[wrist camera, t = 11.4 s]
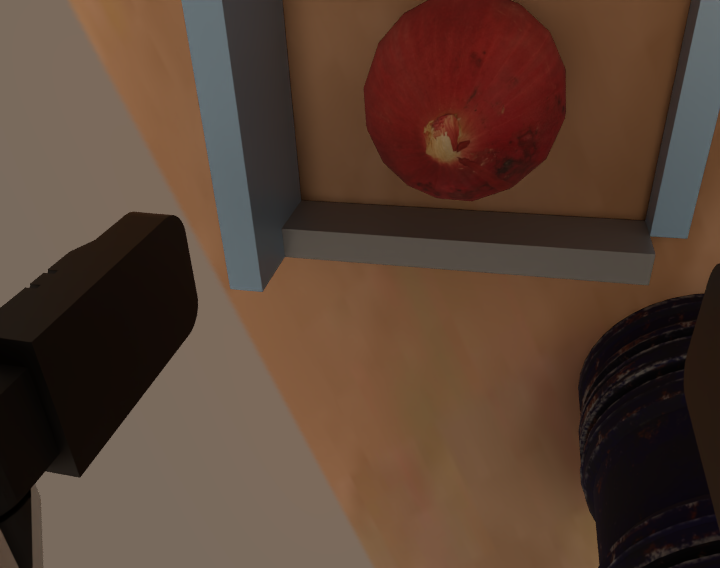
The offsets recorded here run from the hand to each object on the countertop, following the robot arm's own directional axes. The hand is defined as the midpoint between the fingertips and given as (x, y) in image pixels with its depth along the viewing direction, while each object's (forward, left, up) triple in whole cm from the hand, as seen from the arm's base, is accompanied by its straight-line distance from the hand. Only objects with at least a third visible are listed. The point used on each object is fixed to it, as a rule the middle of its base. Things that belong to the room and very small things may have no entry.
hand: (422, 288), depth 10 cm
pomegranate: (0, 0, -15) cm, 15 cm away
